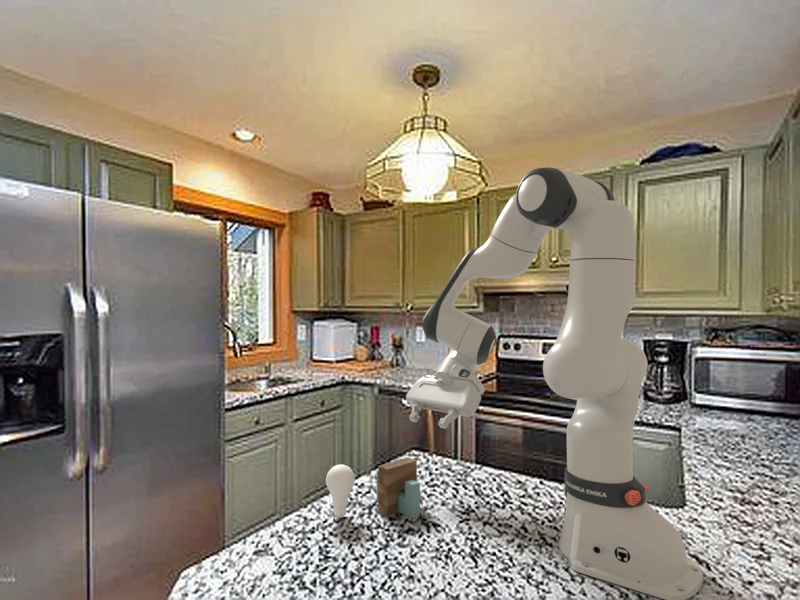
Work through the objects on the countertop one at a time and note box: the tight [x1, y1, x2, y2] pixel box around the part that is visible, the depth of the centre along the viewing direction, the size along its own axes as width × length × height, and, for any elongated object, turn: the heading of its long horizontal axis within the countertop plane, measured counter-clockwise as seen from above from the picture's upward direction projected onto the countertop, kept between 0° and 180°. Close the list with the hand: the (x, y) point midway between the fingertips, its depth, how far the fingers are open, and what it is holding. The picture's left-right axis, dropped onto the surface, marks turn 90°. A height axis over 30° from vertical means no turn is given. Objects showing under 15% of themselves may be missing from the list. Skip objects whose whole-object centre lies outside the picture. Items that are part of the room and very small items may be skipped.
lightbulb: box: [325, 464, 356, 519], centre depth 96 cm, size 6×6×11 cm
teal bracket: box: [376, 470, 421, 519], centre depth 101 cm, size 12×2×7 cm, turn 43°
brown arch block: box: [377, 456, 418, 517], centre depth 101 cm, size 3×9×10 cm, turn 133°
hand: (426, 423), depth 107 cm, fingers open, 8 cm apart
